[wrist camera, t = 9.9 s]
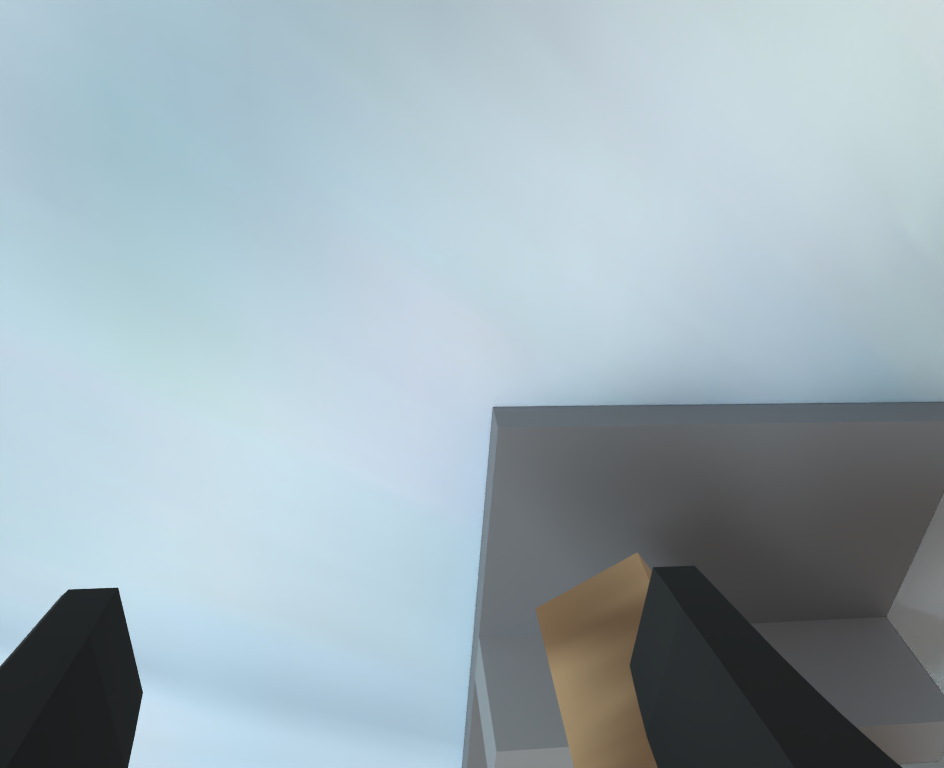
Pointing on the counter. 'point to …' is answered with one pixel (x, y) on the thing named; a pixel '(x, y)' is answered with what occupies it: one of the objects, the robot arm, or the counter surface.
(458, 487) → the counter surface
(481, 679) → the stand
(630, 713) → the wooden block
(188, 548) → the counter surface
